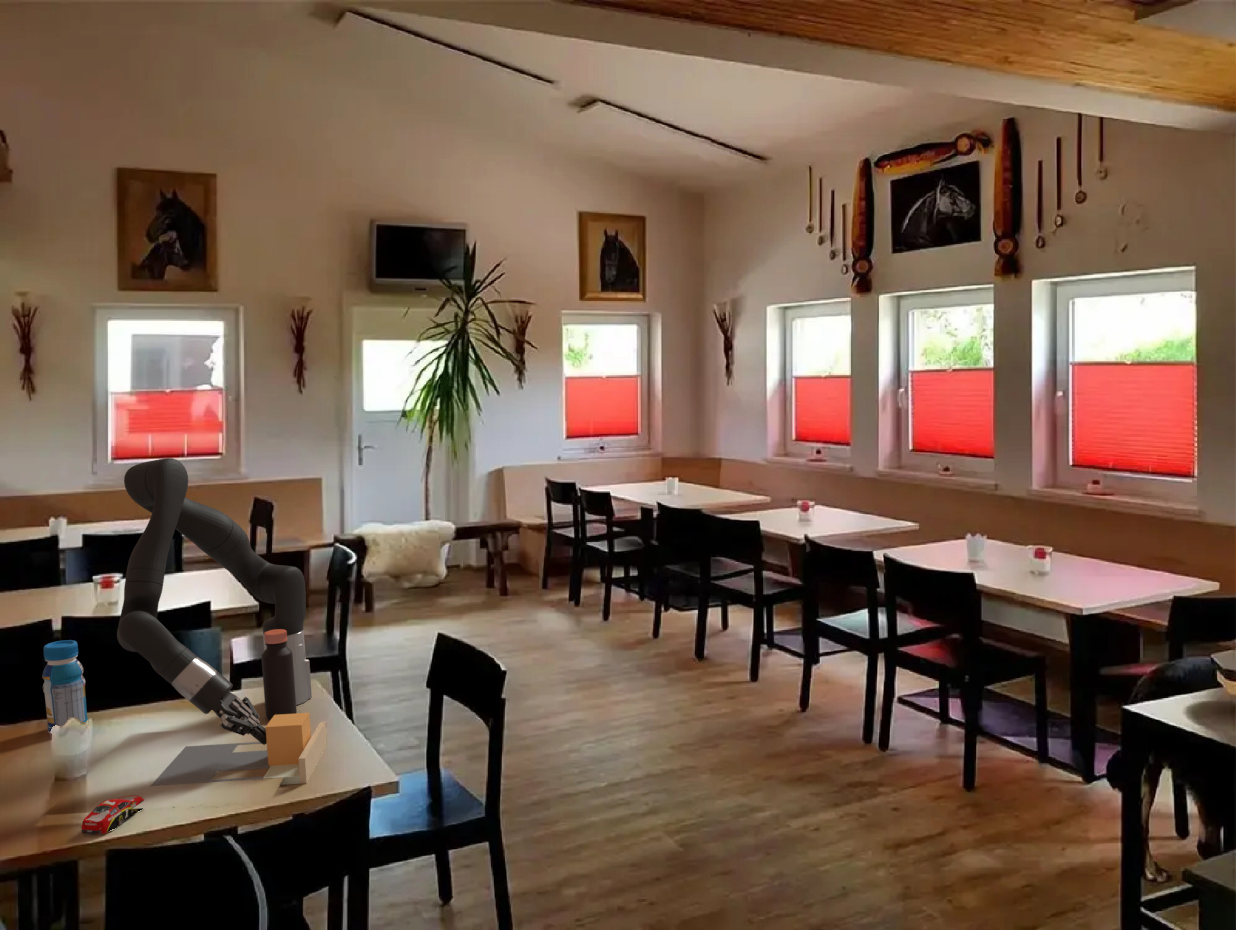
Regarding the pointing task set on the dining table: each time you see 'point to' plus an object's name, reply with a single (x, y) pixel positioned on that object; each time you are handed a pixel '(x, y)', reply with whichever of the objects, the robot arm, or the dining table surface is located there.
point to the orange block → (287, 738)
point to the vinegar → (278, 675)
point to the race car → (110, 814)
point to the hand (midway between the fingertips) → (268, 740)
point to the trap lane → (240, 762)
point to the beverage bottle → (63, 683)
